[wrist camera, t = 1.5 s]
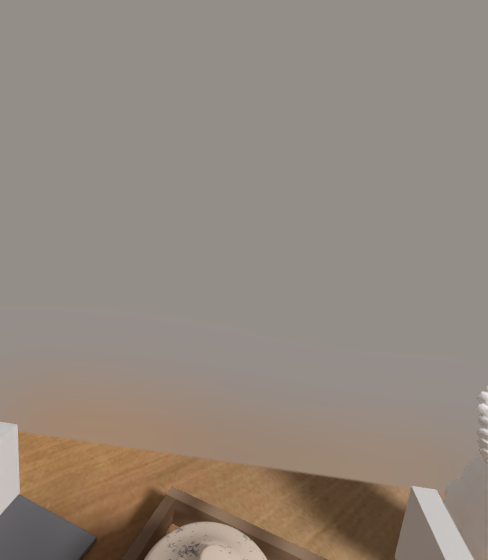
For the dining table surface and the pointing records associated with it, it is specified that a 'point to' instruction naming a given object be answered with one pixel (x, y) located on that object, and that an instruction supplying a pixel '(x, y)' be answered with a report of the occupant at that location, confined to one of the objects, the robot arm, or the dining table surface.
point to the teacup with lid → (205, 544)
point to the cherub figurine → (473, 492)
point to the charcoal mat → (39, 534)
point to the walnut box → (188, 509)
